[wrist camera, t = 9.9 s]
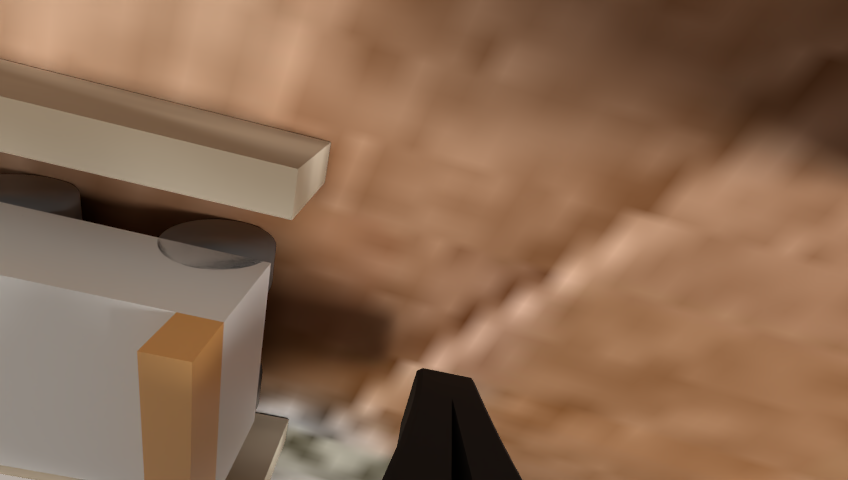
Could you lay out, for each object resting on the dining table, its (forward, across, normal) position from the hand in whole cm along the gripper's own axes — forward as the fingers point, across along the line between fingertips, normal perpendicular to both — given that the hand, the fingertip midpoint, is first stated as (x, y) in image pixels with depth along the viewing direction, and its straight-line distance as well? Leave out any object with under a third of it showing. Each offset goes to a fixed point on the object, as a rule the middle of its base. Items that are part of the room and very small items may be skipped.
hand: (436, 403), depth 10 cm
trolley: (+2, +8, 0) cm, 8 cm away
